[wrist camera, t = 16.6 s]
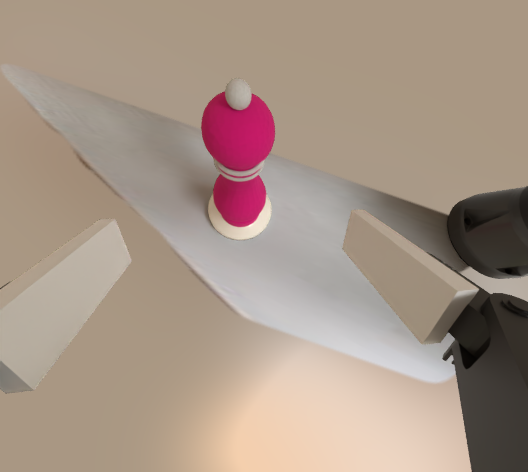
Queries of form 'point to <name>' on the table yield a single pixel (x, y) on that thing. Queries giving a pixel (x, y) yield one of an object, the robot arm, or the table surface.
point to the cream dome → (239, 232)
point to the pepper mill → (238, 151)
